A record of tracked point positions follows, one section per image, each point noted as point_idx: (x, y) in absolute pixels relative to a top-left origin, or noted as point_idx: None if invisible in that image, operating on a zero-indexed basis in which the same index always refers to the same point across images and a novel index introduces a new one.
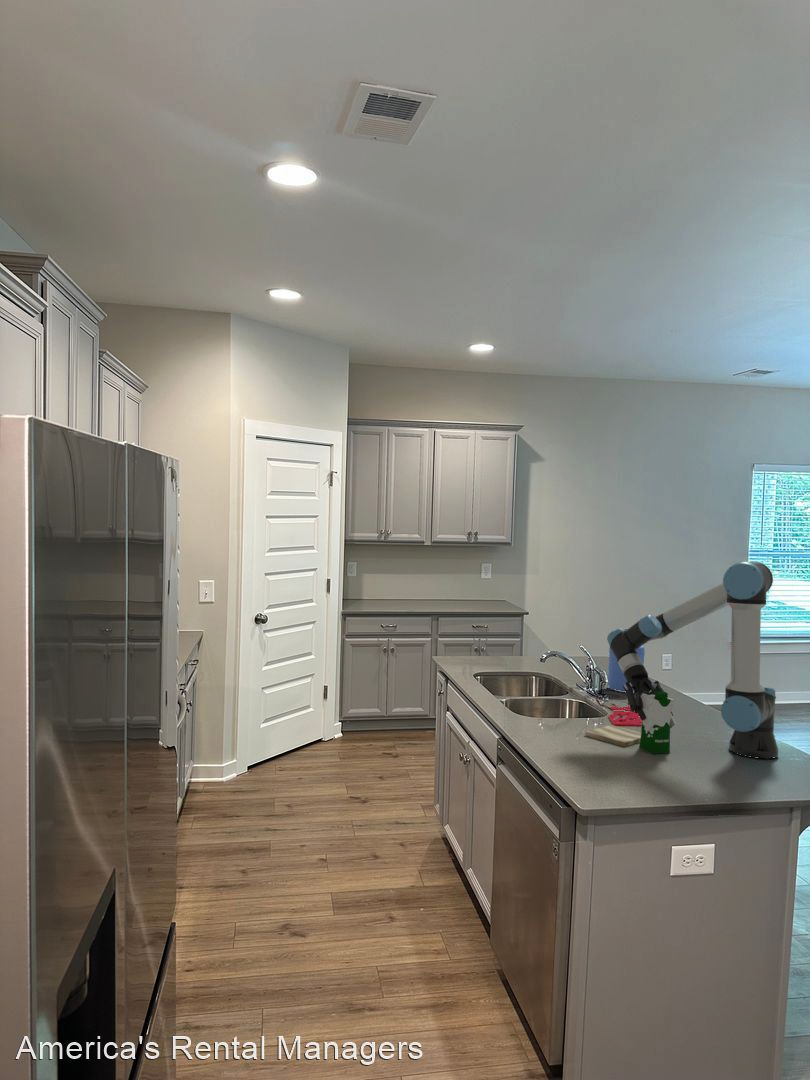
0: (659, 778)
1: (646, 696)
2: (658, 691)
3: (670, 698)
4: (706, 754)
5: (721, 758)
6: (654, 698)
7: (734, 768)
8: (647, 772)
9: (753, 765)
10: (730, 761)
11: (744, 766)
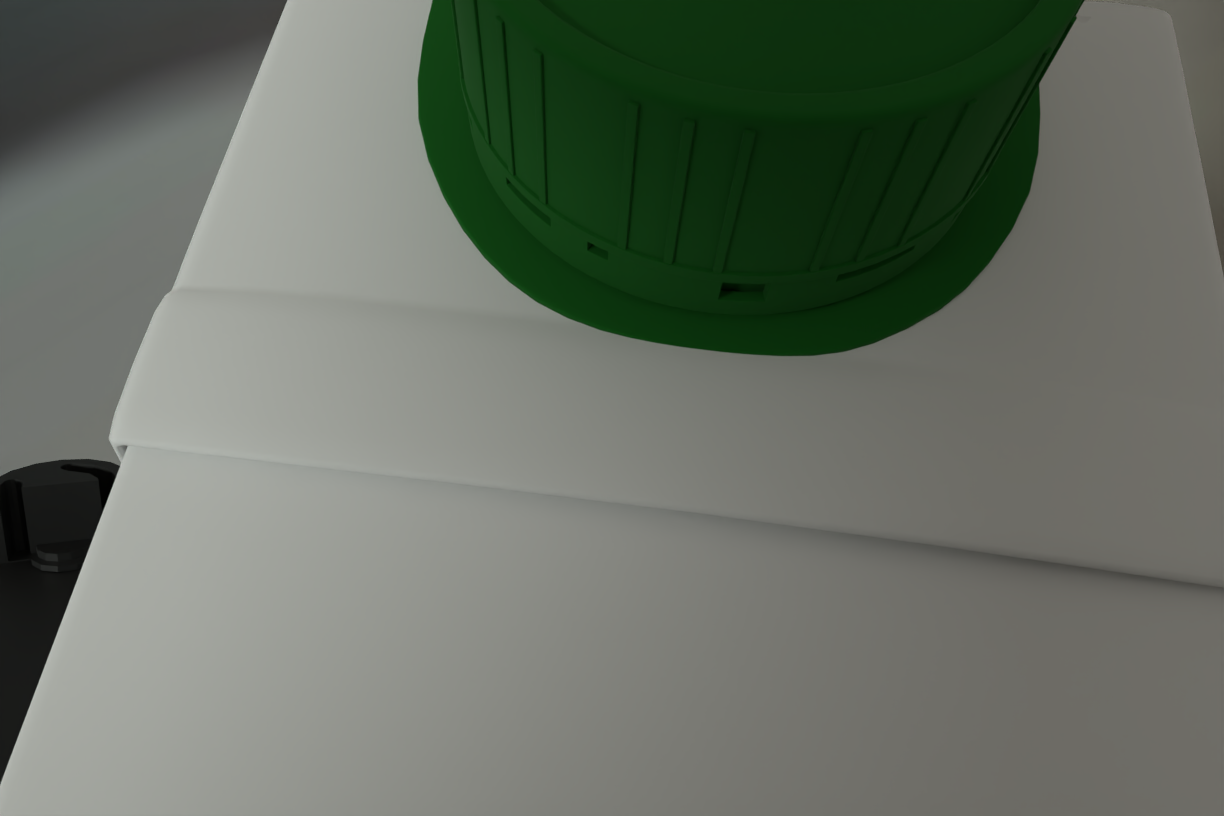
0: (1180, 42)
1: (1126, 665)
2: (711, 88)
3: (290, 33)
4: (96, 371)
5: (85, 225)
6: (1026, 172)
7: (282, 8)
8: (1208, 168)
9: (17, 6)
10: (100, 137)
11: (131, 13)
